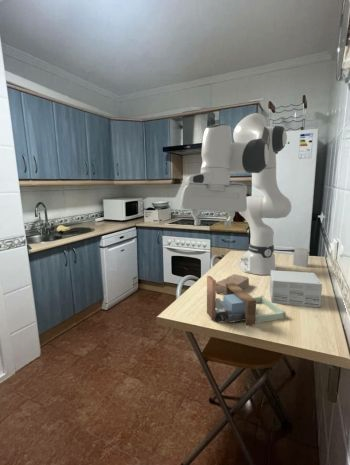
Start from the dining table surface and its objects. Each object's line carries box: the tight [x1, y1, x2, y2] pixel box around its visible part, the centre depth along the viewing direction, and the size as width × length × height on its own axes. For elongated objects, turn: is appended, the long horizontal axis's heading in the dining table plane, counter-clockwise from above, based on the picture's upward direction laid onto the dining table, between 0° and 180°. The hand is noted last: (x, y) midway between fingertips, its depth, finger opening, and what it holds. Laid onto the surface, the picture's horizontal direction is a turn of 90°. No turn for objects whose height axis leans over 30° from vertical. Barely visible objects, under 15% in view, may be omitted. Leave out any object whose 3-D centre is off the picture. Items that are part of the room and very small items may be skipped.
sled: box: [206, 275, 245, 323], centre depth 88 cm, size 11×14×13 cm
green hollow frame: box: [252, 295, 287, 323], centre depth 92 cm, size 14×11×2 cm
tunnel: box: [225, 282, 257, 327], centre depth 90 cm, size 16×3×8 cm, turn 14°
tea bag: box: [292, 246, 309, 268], centre depth 142 cm, size 4×7×10 cm, turn 54°
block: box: [222, 294, 246, 315], centre depth 90 cm, size 7×8×6 cm
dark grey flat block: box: [213, 316, 226, 323], centre depth 88 cm, size 7×3×1 cm, turn 14°
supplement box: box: [269, 270, 323, 308], centre depth 101 cm, size 17×13×9 cm
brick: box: [216, 273, 250, 295], centre depth 112 cm, size 17×8×5 cm, turn 139°
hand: (212, 226), depth 78 cm, fingers open, 8 cm apart
